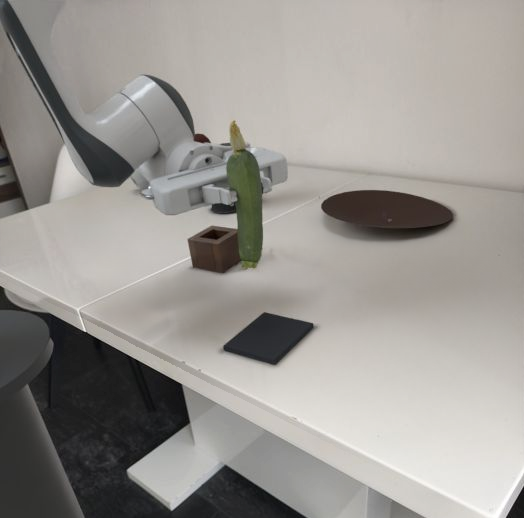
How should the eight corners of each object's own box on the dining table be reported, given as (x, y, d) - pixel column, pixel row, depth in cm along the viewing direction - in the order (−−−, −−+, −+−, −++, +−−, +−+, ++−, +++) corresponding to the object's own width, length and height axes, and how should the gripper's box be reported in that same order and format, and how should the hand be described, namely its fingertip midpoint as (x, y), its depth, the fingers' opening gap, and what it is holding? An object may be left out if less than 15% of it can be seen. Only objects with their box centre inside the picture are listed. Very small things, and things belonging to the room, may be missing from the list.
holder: (223, 273, 102) (218, 243, 99) (192, 267, 106) (187, 239, 103) (246, 258, 107) (242, 229, 104) (216, 253, 111) (211, 225, 108)
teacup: (182, 189, 155) (177, 160, 151) (142, 200, 150) (135, 171, 146) (161, 180, 166) (156, 153, 162) (123, 190, 161) (117, 162, 157)
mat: (274, 364, 75) (274, 360, 74) (223, 350, 79) (222, 345, 79) (313, 327, 82) (313, 323, 81) (264, 316, 87) (264, 311, 86)
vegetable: (250, 259, 79) (230, 115, 69) (276, 262, 77) (260, 113, 67) (235, 272, 76) (212, 122, 65) (262, 275, 74) (242, 121, 64)
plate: (479, 227, 108) (481, 209, 106) (344, 251, 105) (343, 233, 103) (419, 190, 131) (419, 175, 129) (307, 209, 128) (306, 194, 126)
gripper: (130, 169, 74) (174, 187, 64) (253, 138, 83) (309, 150, 73) (141, 214, 78) (184, 237, 68) (258, 179, 86) (311, 196, 76)
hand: (250, 191), depth 70 cm, fingers closed on vegetable, 4 cm apart
